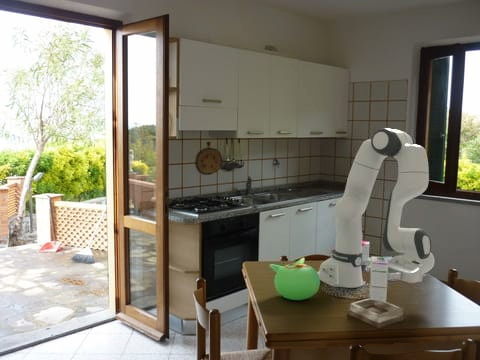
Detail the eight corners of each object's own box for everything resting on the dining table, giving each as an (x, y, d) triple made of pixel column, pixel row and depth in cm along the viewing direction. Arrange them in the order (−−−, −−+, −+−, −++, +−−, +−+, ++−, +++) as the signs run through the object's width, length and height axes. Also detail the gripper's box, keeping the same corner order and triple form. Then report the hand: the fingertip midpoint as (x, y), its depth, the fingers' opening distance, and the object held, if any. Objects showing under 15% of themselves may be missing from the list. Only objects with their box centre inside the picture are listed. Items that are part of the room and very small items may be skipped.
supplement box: (368, 263, 232) (369, 241, 231) (367, 266, 227) (369, 244, 225) (356, 262, 234) (358, 240, 233) (355, 265, 228) (357, 242, 227)
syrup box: (386, 301, 162) (389, 261, 160) (369, 299, 163) (371, 260, 161) (384, 296, 167) (387, 257, 166) (368, 294, 169) (370, 255, 167)
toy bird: (285, 308, 171) (286, 270, 170) (265, 292, 187) (267, 257, 185) (326, 303, 178) (328, 266, 176) (304, 288, 193) (306, 254, 192)
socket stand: (347, 313, 168) (348, 303, 167) (372, 306, 176) (373, 296, 175) (378, 328, 156) (379, 317, 156) (404, 319, 164) (405, 308, 164)
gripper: (379, 252, 180) (355, 257, 172) (427, 265, 163) (403, 272, 155) (378, 267, 181) (355, 273, 173) (425, 282, 164) (401, 290, 156)
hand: (378, 273), depth 164 cm, fingers closed on syrup box, 8 cm apart
